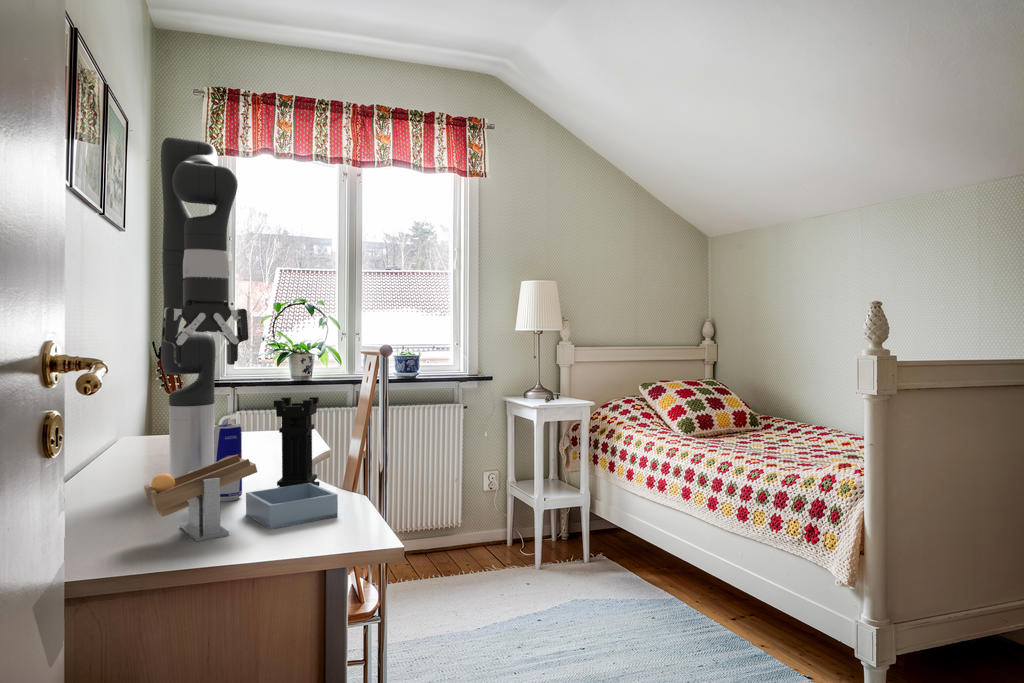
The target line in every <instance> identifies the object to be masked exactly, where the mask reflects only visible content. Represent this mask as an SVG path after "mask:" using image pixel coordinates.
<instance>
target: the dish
mask: <svg viewBox="0 0 1024 683" xmlns="http://www.w3.org/2000/svg"><path fill="white" fill-rule="evenodd" d="M278 487H279V486H278ZM278 487H274V488H273V487H272V488H268V489H267V488H266V489H260V490H254V491H247V492H245V514H247V516H248V517H250V518H252V519H253V520H255V521H256V522H258V523H260V524H262V526H264V527H266V528H268V529H269V530H274V529H279V528H285V527H289V526H294V525H301V524H304V523H310V522H315V521H321V520H325V519H332V518H336V517H339V513H338V510H339V509H338V507H339V506H338V504H339V503H338V499H339V498H338V495H339V494H338V493H335V492H333V491H330V490H328V489H326V488H323V487H321V486H320V485H319V486H317V485H314V484H312V483H305V484H298V485H292V486H285V487H279V488H278Z"/></svg>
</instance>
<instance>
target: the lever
mask: <svg viewBox="0 0 1024 683" xmlns="http://www.w3.org/2000/svg"><path fill="white" fill-rule="evenodd" d="M257 473H258V469H257V466H256V463H255V462H251V461H250V460H249V458H246V459H245V458H242V459H241V458H239V455H238V454H237V455H233V456H229V457H225V458H223V459H221V460H219V461H217V462H216V463H213V464H210V465H208V466H205V467H202V468H200V469H197V470H194V471H192V472H189V473H186V474H184V475H181V476H179V477H176V478H174V480H175V486H174V487H173V488H170V489H168V490H165V491H162V492H160V493H157V492H156V491H155V490H154V489H153V488H152V487H151V485H149V484H145V485H143V488H144V491H145V494H146V498H147V500H148V503H149V505H150V506H151V507H152V508H153V509H154V510H155V511H156V512H157V513H158V514H159V515H160V516H162V517H166V516H169V515H171V514H174V513H176V512H179V511H180V510H183V509H186V508H189V503H188V500H189V499H192V498H194V497H197V496H199V495H202V494H203V487H202V480H204V479H211V478H220V487H222V486H224V485H227V484H229V483H232V482H234V481H237V480H239V479H242V480H243V479H244V478H246V477H249V476H252V475H254V474H257Z"/></svg>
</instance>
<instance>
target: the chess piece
mask: <svg viewBox="0 0 1024 683" xmlns="http://www.w3.org/2000/svg"><path fill="white" fill-rule="evenodd" d="M280 398H281V399H275V400H273V407H274V408H276V409H275V410H276V411H275V412H276V418H277V417H279V418H281V427H280V428H279V429H278V432H279V433H280V434H281V475H282V476H281V478H280V479H278V481H276V487H277V488H279V487H285V486H292V485H298V484H305V483H312V484H314V485H317V486H319V487H320V481H316V480H317V478H318V474H317V473H313V430H314V429H315V424H313V420H312V418H313V415H314V414H316V413H317V411H318V410H317V408H318V407H317V404H318V403H320V396H310V397H308V399H303V400H302V402H292V397H291V396H282V397H280Z"/></svg>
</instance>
